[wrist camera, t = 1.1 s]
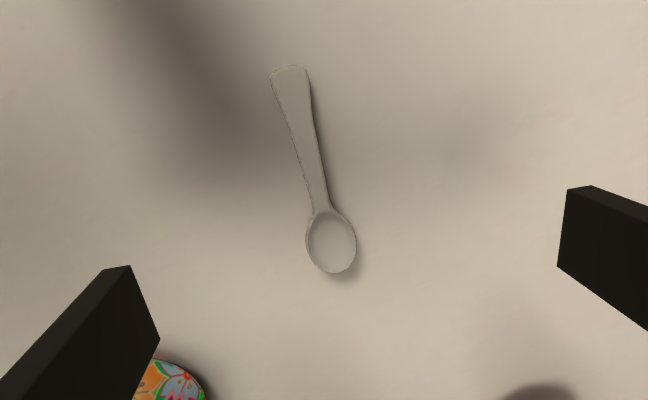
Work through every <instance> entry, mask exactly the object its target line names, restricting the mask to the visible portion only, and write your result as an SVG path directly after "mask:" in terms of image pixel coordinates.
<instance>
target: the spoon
mask: <svg viewBox="0 0 648 400" xmlns="http://www.w3.org/2000/svg"><path fill="white" fill-rule="evenodd" d="M270 81H271V86H272V89H273V91H274V94H275V96H276V98H277V101H278V103H279V105H280V107H281V109H282V112H283V114H284V116H285V119H286V122H287V124H288V127H289V130H290V133H291V136H292V139H293V143H294V146H295V149H296V153H297V156H298V159H299V163H300V166H301V169H302V172H303V175H304V178H305V181H306V184H307V187H308V191H309V194H310V197H311V201H312V206H313V216H312V219H311V221H310V223H309V225H308V228H307V231H306V247H307V251H308V253H309V256H310V258H311V259H312V261H313V262H314V264H315V265H316V266H317V267H318V268H320V269H321V270H323V271H325V272H328V273H340V272H343V271H344V270H346V269H347V268H348V267H349V266H350V265H351V264H352V262H353V260H354V258H355V255H356V249H357V242H356V236H355V233H354V230H353V228H352V226H351V225H350V223H349V222H348V221H347V220H346V219H345V218H344V217H343V216H342V215H340V214H339V213H338V212H336V211H335V210H334V208H333V207H332V205H331V202H330V199H329V195H328V191H327V187H326V182H325V176H324V171H323V166H322V161H321V156H320V151H319V146H318V142H317V137H316V132H315V127H314V122H313V116H312V108H311V97H310V85H309V77H308V74H307V71H306V69H305V68H304V67H302V66H298V65H296V66H290V67H286V68H282V69H279V70H276V71H275V72H274V73H273V74H272V75H271V78H270Z"/></svg>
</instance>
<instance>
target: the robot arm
mask: <svg viewBox="0 0 648 400" xmlns="http://www.w3.org/2000/svg"><path fill="white" fill-rule="evenodd" d="M557 267H558V268H560V269H561V270H563V271H564V272H565V273H567V274H568V275H570V276H571V277H572V278H574V279H575V280H576V281H578V282H579V283H581V284H582V285H583V286H585V287H586V288H588V289H589V290H590V291H592V292H593V293H595V294H596V295H597V296H599V297H600V298H602V299H603V300H604V301H606V302H607V303H609V304H610V305H611V306H613V307H614V308H616V309H617V310H618V311H620V312H621V313H623V314H624V315H625V316H627V317H628V318H630V319H631V320H632V321H634V322H635V323H637V324H638V325H639V326H641V327H642V328H643V329H645V330H646V331H648V206H646V205H643V204H640V203H638V202H635V201H632V200H630V199H627V198H624V197H621V196H619V195H616V194H613V193H611V192H608V191H605V190H603V189H600V188H597V187H594V186H592V185H590V186H584V187H578V188H572V189H567V194H566V202H565V209H564V217H563V224H562V231H561V239H560V246H559V254H558V261H557ZM159 341H160V337H159V334H158V332H157V329H156V327H155V325H154V322H153V320H152V317H151V315H150V312H149V310H148V307H147V305H146V302H145V300H144V298H143V295H142V293H141V290H140V288H139V285H138V283H137V280H136V278H135V276H134V273H133V271H132V268H131V266H130V265H127V266H121V267H115V268H109V269H104V270H102V271H101V272H100V273H99V274H98V275H97V277H96V278H95V279H94V280H93V281H92V282H91V283H90V284H89V285H88V286H87V287H86V288H85V289H84V290H83V292H82V293H81V294H80V295H79V296H78V297H77V298H76V299H75V300H74V301H73V302H72V303H71V304H70V305H69V307H68V308H67V309H66V310H65V311H64V312H63V313H62V314H61V315H60V316H59V317H58V318H57V319H56V320H55V322H54V323H53V324H52V325H51V326H50V327H49V328H48V329H47V330H46V331H45V332H44V333H43V334H42V336H41V337H40V338H39V339H38V340H37V341H36V342H35V343H34V344H33V345H32V346H31V347H30V348H29V349H28V351H27V352H26V353H25V354H24V355H23V356H22V357H21V358H20V359H19V360H18V361H17V362H16V363H15V364H14V366H13V367H12V368H11V369H10V370H9V371H8V372H7V373H6V374H5V375H4V376H3V377H2V378H1V380H0V400H132V399H133V397H134V394H135V392H136V390H137V388H138V386H139V384H140V382H141V380H142V377H143V375H144V373H145V371H146V369H147V367H148V365H149V363H150V361H151V358H152V356H153V354H154V352H155V350H156V348H157V346H158V344H159Z"/></svg>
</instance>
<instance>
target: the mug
mask: <svg viewBox="0 0 648 400" xmlns="http://www.w3.org/2000/svg"><path fill="white" fill-rule="evenodd" d="M132 400H206V398H205V394H204V392H203V390H202V388H201V386H200V385H199V384H198V382H197V381H196V380H195V379H194V378H193V377H192V376H191V375H190V374H189V373H187V372H186V371H185V370H183V369H181V368H180V367H177V366H175V365H173V364H171V363H168V362H165V361H161V360H156V359H151V361H150V363H149V365H148V367H147V369H146V371H145V373H144V375H143V377H142V380H141V382H140V384H139V386H138V388H137V390H136V392H135V394H134V397H133V399H132Z"/></svg>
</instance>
